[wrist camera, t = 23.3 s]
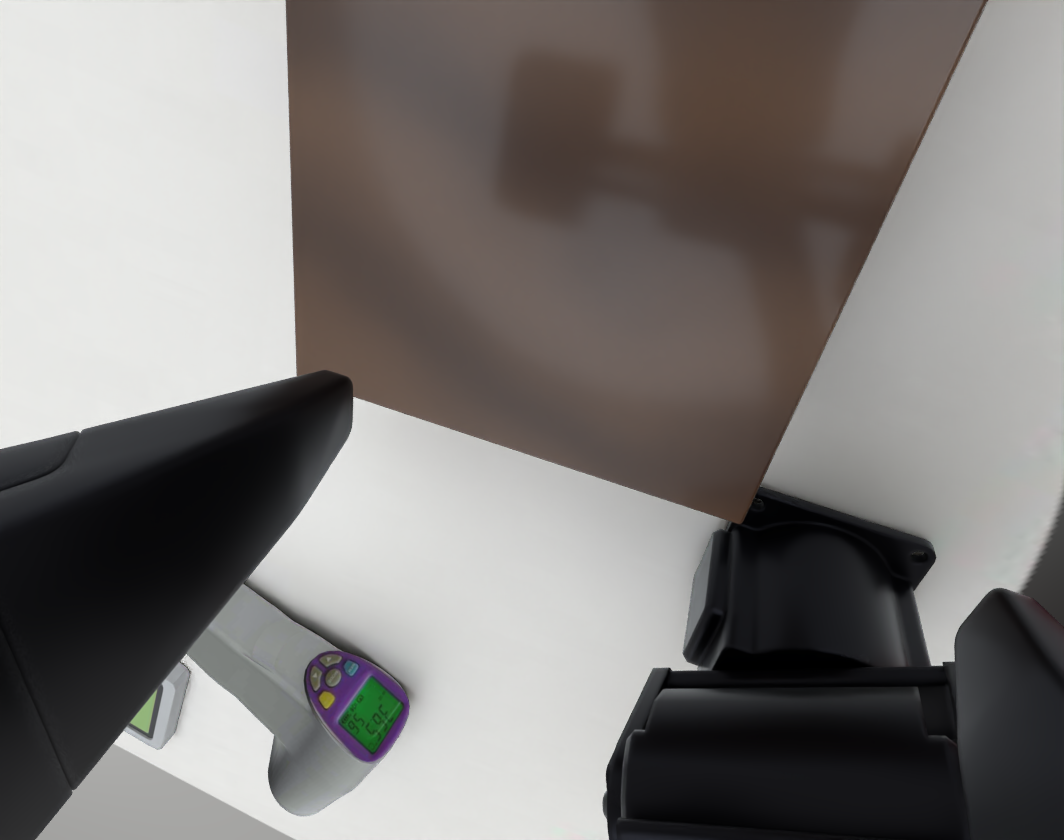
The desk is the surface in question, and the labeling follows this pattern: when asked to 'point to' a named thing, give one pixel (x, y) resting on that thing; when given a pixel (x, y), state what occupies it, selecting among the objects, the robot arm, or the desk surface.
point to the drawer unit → (600, 213)
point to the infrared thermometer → (303, 700)
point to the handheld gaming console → (161, 710)
